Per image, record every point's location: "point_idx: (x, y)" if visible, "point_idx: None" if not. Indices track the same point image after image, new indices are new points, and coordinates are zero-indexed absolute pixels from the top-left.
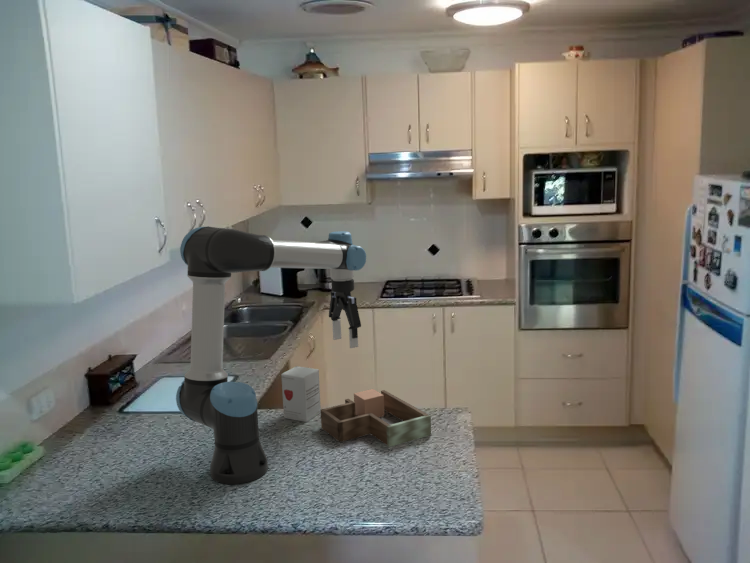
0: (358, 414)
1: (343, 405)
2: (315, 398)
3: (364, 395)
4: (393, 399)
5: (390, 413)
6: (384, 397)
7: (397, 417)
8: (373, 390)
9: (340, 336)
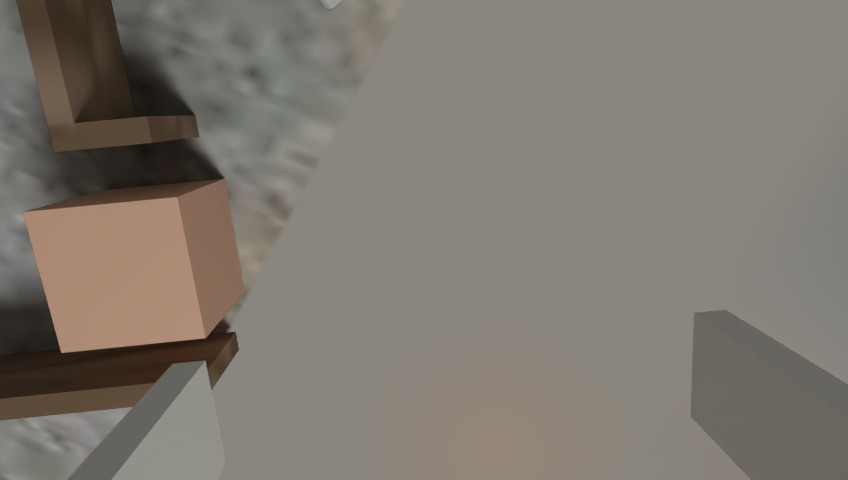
0: (174, 184)
1: (35, 61)
2: None
3: (105, 244)
4: (54, 388)
5: None
6: None
7: None
8: (174, 331)
9: (708, 423)
